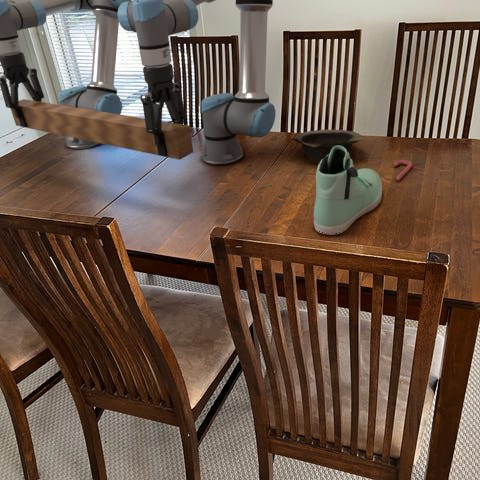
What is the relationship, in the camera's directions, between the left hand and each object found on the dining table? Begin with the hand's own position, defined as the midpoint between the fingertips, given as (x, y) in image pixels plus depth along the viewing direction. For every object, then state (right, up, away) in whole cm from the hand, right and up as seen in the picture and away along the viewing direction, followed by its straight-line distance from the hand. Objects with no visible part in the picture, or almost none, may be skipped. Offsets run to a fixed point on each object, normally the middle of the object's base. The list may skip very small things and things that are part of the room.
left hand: (32, 123), depth 166 cm
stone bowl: (+103, -9, +9) cm, 104 cm away
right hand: (+53, -16, -32) cm, 64 cm away
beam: (+26, -8, -16) cm, 32 cm away
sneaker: (+103, -31, -27) cm, 111 cm away
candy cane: (+125, -18, -8) cm, 126 cm away
